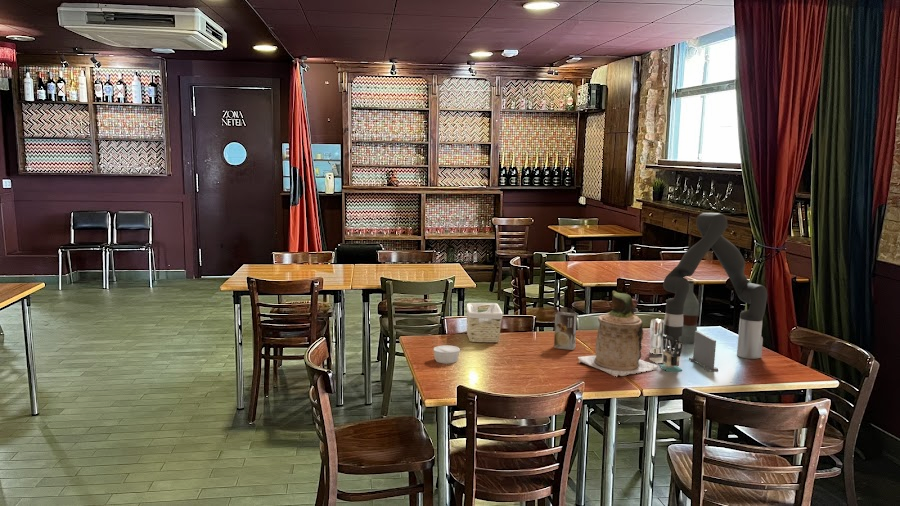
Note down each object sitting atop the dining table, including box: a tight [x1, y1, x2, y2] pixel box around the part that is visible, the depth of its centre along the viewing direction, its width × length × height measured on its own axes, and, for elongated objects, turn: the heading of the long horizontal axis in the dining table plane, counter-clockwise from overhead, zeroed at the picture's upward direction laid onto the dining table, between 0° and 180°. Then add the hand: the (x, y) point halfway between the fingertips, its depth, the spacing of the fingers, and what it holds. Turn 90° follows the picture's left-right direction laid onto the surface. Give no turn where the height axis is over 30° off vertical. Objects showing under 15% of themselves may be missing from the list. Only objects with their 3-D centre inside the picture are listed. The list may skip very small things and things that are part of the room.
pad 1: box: [648, 357, 663, 365], centre depth 292 cm, size 7×7×1 cm
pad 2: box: [658, 364, 683, 372], centre depth 282 cm, size 7×7×1 cm
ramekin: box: [432, 344, 461, 365], centre depth 286 cm, size 11×11×5 cm
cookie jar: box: [577, 290, 659, 378], centre depth 282 cm, size 25×25×32 cm
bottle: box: [679, 280, 700, 345], centre depth 324 cm, size 9×9×30 cm
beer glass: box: [649, 318, 666, 355], centre depth 304 cm, size 7×7×15 cm
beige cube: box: [662, 350, 681, 367], centre depth 281 cm, size 5×5×5 cm
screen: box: [688, 330, 719, 372], centre depth 287 cm, size 5×16×13 cm, turn 7°
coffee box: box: [553, 311, 578, 351], centre depth 309 cm, size 9×6×16 cm
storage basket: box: [465, 302, 503, 343], centre depth 325 cm, size 24×16×15 cm
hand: (670, 363), depth 282 cm, fingers closed on beige cube, 4 cm apart
